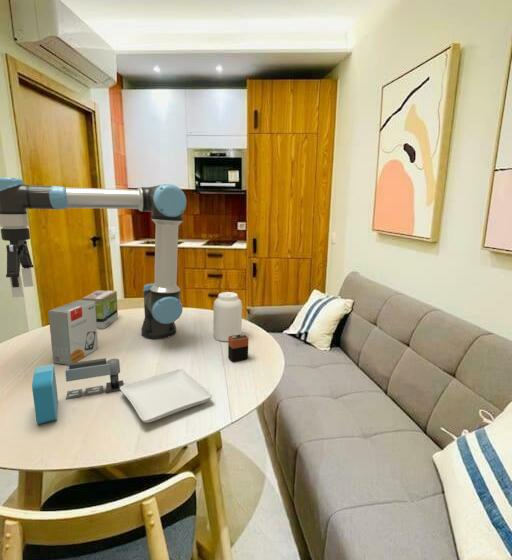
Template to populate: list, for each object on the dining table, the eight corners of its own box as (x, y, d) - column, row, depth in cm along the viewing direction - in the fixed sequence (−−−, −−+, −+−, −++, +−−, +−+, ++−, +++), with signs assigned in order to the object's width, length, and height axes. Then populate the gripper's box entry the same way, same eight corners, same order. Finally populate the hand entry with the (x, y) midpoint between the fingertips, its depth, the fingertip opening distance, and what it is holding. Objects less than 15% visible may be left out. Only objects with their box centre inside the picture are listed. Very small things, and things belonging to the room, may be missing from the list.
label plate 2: (103, 386, 107) (103, 385, 107) (102, 393, 103) (102, 391, 103) (85, 389, 105) (85, 388, 105) (84, 396, 101) (84, 394, 101)
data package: (40, 402, 97) (35, 365, 95) (57, 399, 99) (53, 362, 97) (37, 427, 87) (31, 385, 84) (57, 422, 89) (52, 381, 87)
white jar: (230, 344, 141) (231, 299, 137) (207, 337, 148) (207, 294, 143) (246, 335, 152) (247, 293, 147) (224, 329, 158) (225, 288, 153)
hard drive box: (70, 366, 119) (65, 313, 114) (52, 363, 120) (46, 310, 116) (99, 348, 134) (95, 300, 129) (82, 346, 135) (78, 299, 131)
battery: (248, 359, 128) (249, 335, 126) (232, 362, 125) (232, 338, 123) (243, 354, 132) (244, 331, 130) (227, 358, 129) (228, 333, 127)
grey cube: (123, 382, 109) (122, 369, 108) (123, 390, 105) (122, 376, 104) (106, 385, 108) (105, 371, 106) (106, 393, 103) (105, 379, 102)
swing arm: (119, 369, 107) (119, 354, 106) (120, 374, 104) (119, 359, 103) (67, 376, 102) (66, 362, 101) (66, 382, 98) (64, 367, 97)
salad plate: (181, 375, 116) (181, 366, 115) (213, 405, 100) (214, 394, 99) (118, 395, 103) (118, 385, 102) (143, 433, 87) (143, 421, 86)
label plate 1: (82, 390, 104) (81, 388, 104) (81, 396, 101) (81, 395, 101) (67, 392, 103) (67, 391, 103) (66, 399, 99) (65, 398, 99)
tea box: (105, 329, 153) (102, 298, 150) (83, 328, 153) (80, 297, 150) (118, 318, 168) (116, 290, 165) (98, 317, 168) (96, 289, 165)
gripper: (12, 224, 117) (20, 283, 122) (-14, 231, 95) (-3, 302, 99) (37, 224, 120) (44, 282, 125) (18, 230, 97) (27, 300, 102)
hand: (23, 291), depth 112 cm, fingers open, 13 cm apart
